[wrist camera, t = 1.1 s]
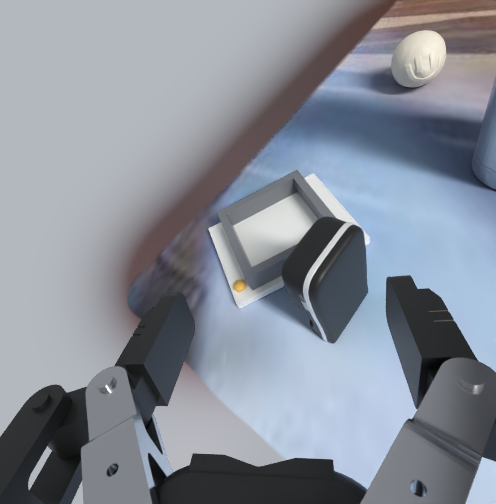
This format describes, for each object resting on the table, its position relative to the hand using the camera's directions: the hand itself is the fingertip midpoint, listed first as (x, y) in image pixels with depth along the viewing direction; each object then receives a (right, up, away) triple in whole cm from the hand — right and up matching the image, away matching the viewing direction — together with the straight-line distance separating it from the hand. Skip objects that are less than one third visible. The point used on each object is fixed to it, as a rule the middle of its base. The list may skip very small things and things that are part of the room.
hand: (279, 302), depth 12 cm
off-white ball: (+24, +27, +34) cm, 50 cm away
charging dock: (+3, +4, +26) cm, 27 cm away
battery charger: (+8, -4, +19) cm, 21 cm away
